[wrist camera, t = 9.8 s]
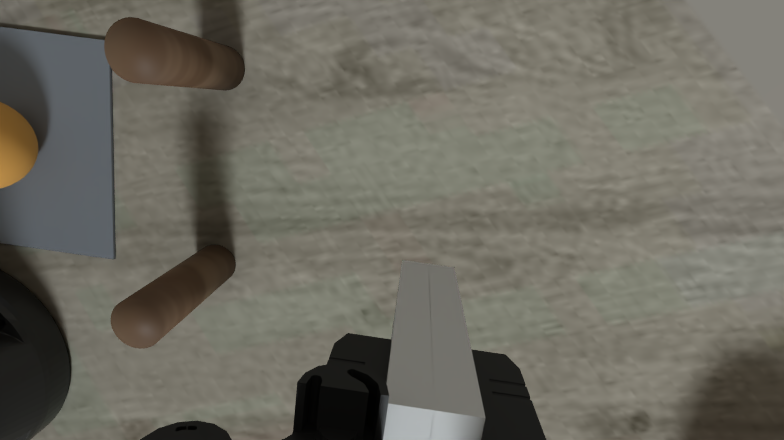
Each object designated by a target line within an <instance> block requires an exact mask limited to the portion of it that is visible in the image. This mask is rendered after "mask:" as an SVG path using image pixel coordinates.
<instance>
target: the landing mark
mask: <svg viewBox="0 0 784 440" xmlns="http://www.w3.org/2000/svg"><path fill="white" fill-rule="evenodd" d="M104 42H105V40H99V39H91V38H83V37H75V36H68V35H60V34H52V33H45V32H37V31H29V30H21V29H14V28H6V27H0V102H1V103H4V104H6V105H8V106H10V107H11V108H13V109H14V110H16V111H17V112H18V113H20V114H21V115H22V116H23V117H24V118H25V119H26V120H27V121H28V122H29V124H30V125H31V127H32V128H33V130H34V132H35V135H36V137H37V141H38V155H37V159H36V162H35V164H34V166H33V168H32V169H31V170H30V172H29V173H28V174H27V175H26V176H25V177H24V178H22V179H21V180H19V181H18V182H16V183H14V184H12V185H10V186H7V187H4V188H0V243H3V244H10V245H17V246H24V247H31V248H38V249H45V250H52V251H59V252H66V253H73V254H80V255H87V256H94V257H101V258H108V259H115V211H114V162H113V113H112V68H111V67H110V65H109V63H108V61H107V59H106V56H105V50H104Z"/></svg>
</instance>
